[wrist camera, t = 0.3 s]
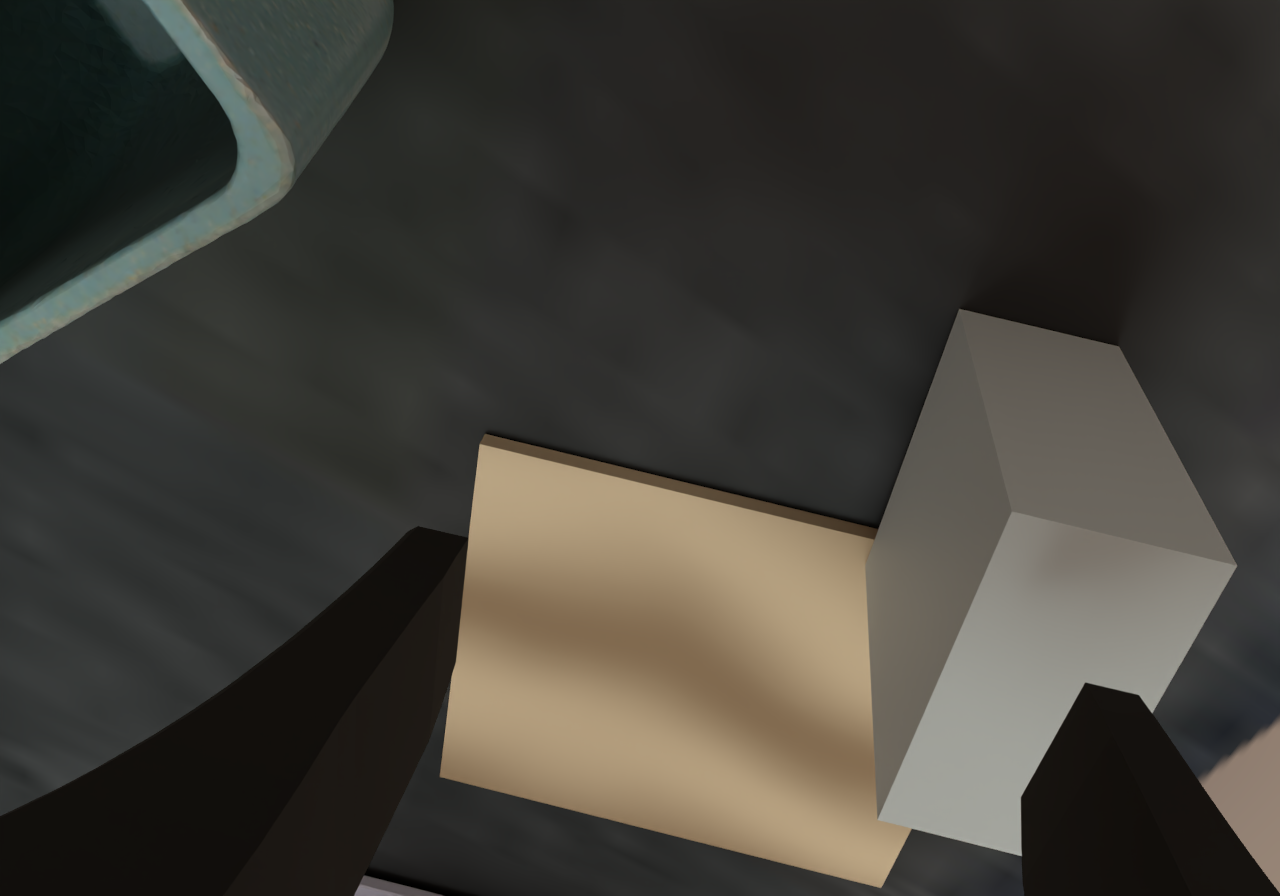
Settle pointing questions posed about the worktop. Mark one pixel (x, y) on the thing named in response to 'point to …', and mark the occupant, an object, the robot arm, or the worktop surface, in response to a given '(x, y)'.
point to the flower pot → (156, 133)
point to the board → (668, 661)
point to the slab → (1024, 571)
